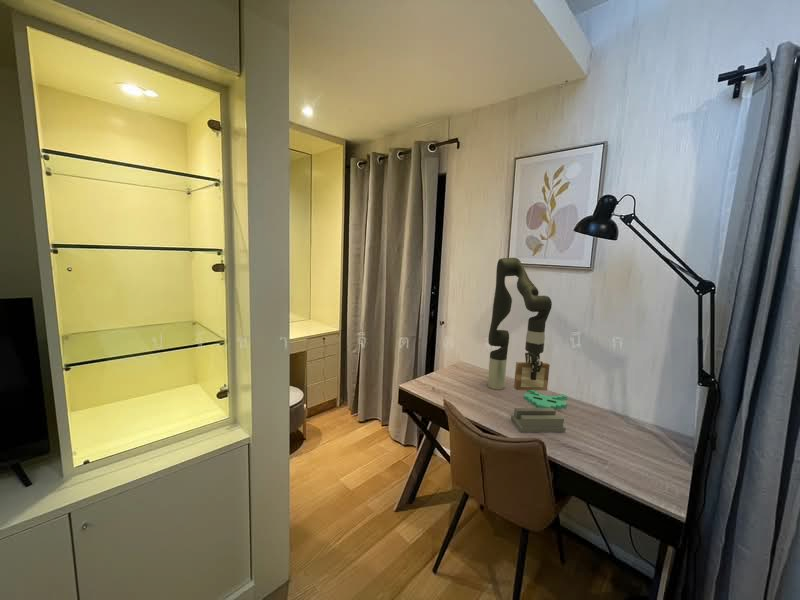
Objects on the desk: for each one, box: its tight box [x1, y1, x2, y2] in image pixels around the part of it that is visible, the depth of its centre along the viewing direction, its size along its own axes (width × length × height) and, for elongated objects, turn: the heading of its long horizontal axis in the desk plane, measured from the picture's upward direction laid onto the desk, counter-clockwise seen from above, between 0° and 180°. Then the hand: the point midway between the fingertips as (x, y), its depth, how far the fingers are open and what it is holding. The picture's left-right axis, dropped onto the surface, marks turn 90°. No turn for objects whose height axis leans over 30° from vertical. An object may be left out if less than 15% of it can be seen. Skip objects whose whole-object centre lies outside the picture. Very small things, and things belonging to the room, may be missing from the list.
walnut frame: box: [513, 361, 550, 392], centre depth 151 cm, size 3×14×12 cm, turn 91°
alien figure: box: [523, 390, 568, 411], centre depth 177 cm, size 20×2×20 cm
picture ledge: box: [510, 407, 567, 433], centre depth 152 cm, size 11×20×6 cm, turn 93°
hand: (531, 378), depth 151 cm, fingers closed on walnut frame, 2 cm apart
